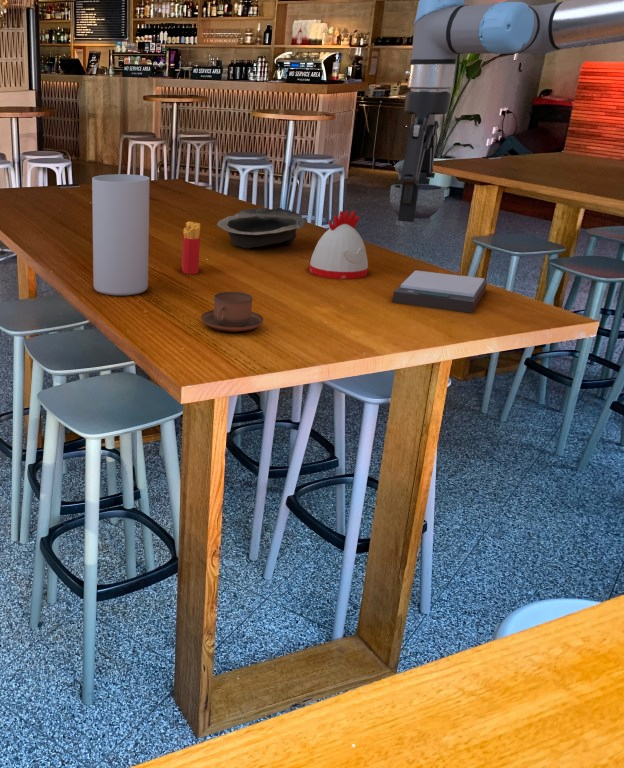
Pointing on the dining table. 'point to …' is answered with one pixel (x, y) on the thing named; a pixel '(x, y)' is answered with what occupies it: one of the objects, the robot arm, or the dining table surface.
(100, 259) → the cylinder vase
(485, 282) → the kitchen scale
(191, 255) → the french fries
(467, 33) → the robot arm
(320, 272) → the kitchen timer
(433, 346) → the dining table surface
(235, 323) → the cup and saucer
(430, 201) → the mortar and pestle
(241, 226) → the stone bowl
